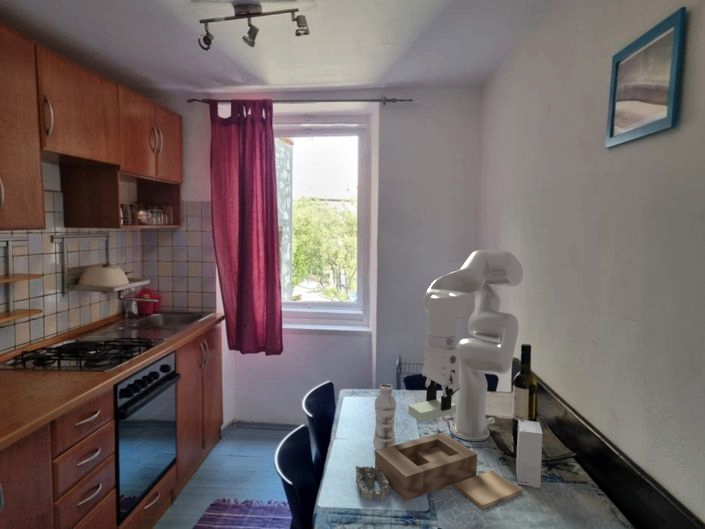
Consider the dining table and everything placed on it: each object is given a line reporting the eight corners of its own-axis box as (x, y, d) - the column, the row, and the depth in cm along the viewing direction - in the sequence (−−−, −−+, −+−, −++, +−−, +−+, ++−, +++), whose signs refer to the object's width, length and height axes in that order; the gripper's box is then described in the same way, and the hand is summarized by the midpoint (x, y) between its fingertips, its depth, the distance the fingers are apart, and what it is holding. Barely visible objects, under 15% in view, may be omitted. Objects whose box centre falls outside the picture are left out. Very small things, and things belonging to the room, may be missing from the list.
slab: (442, 405, 125) (443, 397, 124) (455, 413, 120) (456, 404, 120) (408, 413, 119) (408, 405, 119) (420, 421, 114) (421, 413, 114)
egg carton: (390, 501, 109) (390, 485, 109) (360, 502, 108) (360, 487, 108) (381, 476, 120) (382, 462, 119) (354, 477, 118) (354, 463, 118)
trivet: (492, 473, 122) (492, 470, 122) (521, 493, 113) (522, 489, 113) (453, 487, 115) (454, 483, 115) (482, 509, 106) (482, 505, 106)
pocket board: (442, 452, 132) (443, 432, 132) (476, 476, 120) (477, 454, 120) (374, 472, 121) (375, 450, 120) (404, 501, 109) (406, 476, 108)
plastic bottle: (393, 457, 129) (396, 391, 127) (371, 454, 130) (373, 388, 129) (396, 446, 135) (398, 383, 134) (374, 443, 137) (376, 381, 135)
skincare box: (540, 489, 115) (544, 434, 114) (516, 484, 117) (519, 431, 116) (537, 472, 123) (541, 421, 122) (514, 468, 125) (517, 417, 124)
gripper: (474, 347, 113) (471, 415, 115) (431, 331, 128) (429, 392, 129) (452, 350, 109) (448, 420, 111) (411, 334, 124) (408, 396, 126)
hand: (438, 404), depth 120 cm, fingers closed on slab, 5 cm apart
